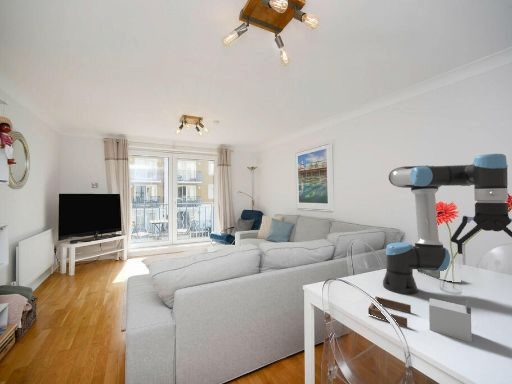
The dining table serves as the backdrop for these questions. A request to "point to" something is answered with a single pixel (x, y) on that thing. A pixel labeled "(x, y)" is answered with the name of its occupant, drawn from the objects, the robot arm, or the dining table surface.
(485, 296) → the dining table surface
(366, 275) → the dining table surface
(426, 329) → the dining table surface
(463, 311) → the grey box with ridge
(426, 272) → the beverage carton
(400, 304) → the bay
